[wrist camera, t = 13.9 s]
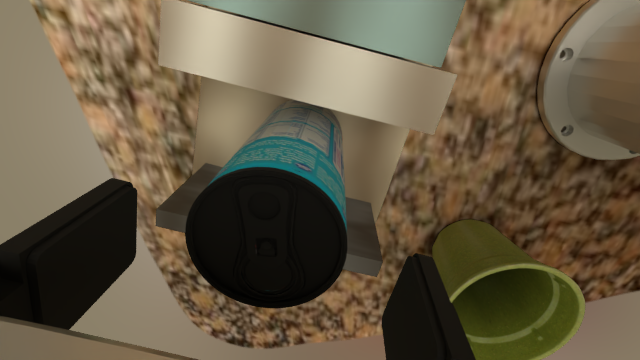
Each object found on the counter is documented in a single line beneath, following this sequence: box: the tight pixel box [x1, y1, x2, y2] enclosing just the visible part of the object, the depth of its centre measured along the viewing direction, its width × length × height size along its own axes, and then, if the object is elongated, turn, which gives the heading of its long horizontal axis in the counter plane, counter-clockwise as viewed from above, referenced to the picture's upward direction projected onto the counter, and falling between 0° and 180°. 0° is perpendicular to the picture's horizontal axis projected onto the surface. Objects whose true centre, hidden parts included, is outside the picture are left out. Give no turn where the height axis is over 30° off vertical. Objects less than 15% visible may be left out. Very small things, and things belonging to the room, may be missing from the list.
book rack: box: [156, 0, 466, 277], centre depth 21 cm, size 16×23×11 cm
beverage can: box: [185, 100, 347, 308], centre depth 19 cm, size 6×6×15 cm
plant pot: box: [432, 219, 585, 360], centre depth 26 cm, size 9×9×9 cm
